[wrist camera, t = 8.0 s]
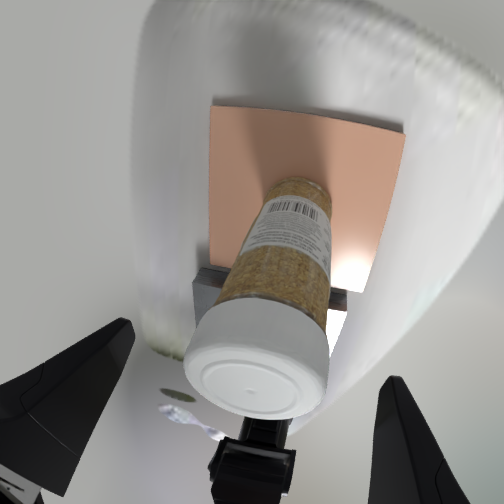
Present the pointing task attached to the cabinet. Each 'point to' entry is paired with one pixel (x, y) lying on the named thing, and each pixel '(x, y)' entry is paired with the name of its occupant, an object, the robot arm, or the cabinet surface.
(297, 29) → the cabinet surface
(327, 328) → the collar stand
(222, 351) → the sprinkles bottle
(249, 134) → the terracotta tile
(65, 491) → the robot arm
